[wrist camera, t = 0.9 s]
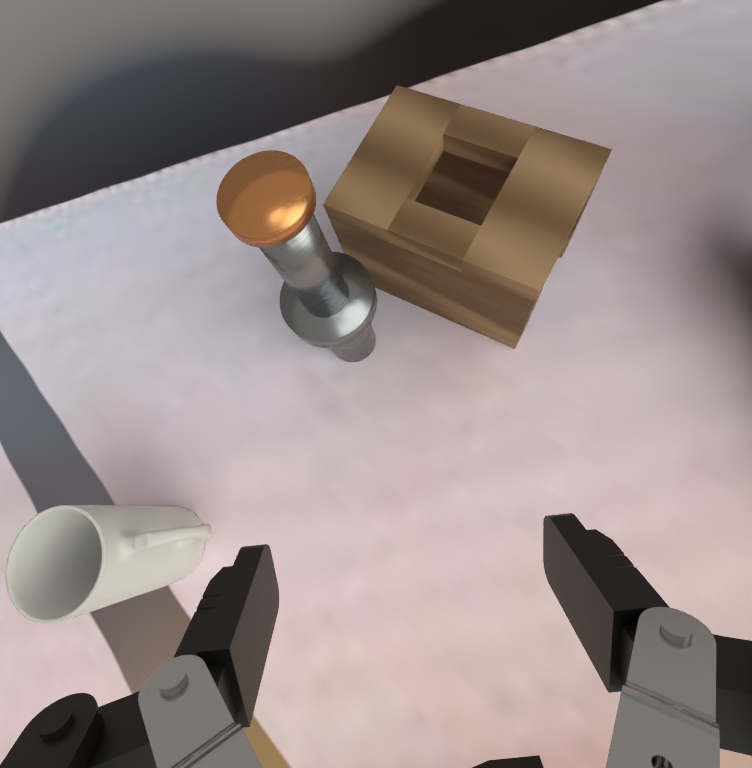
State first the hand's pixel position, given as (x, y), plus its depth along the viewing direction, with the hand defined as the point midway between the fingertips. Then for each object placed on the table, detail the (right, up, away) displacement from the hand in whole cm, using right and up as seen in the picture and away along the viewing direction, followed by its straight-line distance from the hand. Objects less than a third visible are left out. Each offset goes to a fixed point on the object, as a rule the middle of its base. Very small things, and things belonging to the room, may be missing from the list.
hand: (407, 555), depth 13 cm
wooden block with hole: (+7, +16, +28) cm, 33 cm away
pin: (-3, +9, +27) cm, 29 cm away
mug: (-17, -8, +26) cm, 32 cm away
